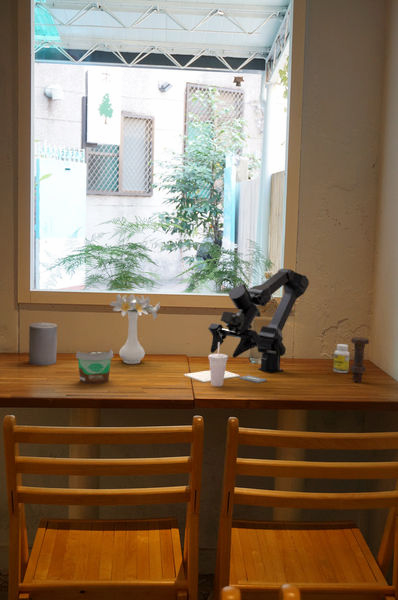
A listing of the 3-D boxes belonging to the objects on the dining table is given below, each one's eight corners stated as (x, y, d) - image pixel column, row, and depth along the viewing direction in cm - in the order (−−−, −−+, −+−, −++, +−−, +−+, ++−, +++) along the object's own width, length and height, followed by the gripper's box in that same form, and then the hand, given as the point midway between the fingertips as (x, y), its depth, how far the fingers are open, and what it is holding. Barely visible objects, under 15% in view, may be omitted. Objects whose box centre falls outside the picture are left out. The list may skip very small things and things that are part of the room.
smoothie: (227, 382, 217) (229, 341, 216) (226, 387, 211) (228, 344, 209) (208, 381, 218) (209, 340, 216) (206, 386, 212) (208, 343, 210)
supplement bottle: (330, 370, 240) (331, 344, 239) (339, 369, 244) (341, 343, 243) (342, 373, 236) (344, 347, 235) (351, 371, 240) (353, 345, 239)
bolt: (366, 380, 227) (369, 338, 225) (365, 384, 222) (368, 340, 221) (349, 378, 229) (352, 336, 227) (347, 382, 224) (350, 338, 222)
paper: (219, 369, 235) (219, 368, 235) (240, 376, 227) (240, 375, 226) (183, 375, 225) (183, 374, 225) (203, 382, 217) (203, 381, 217)
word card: (248, 376, 227) (248, 374, 227) (266, 380, 222) (267, 379, 222) (239, 378, 224) (239, 377, 224) (258, 383, 218) (258, 381, 218)
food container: (81, 386, 206) (81, 355, 205) (75, 381, 212) (75, 351, 210) (118, 382, 212) (119, 352, 211) (111, 378, 217) (112, 348, 216)
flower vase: (159, 366, 237) (161, 297, 234) (107, 365, 236) (108, 296, 232) (158, 358, 250) (160, 293, 247) (109, 357, 248) (110, 291, 245)
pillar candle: (22, 362, 235) (23, 321, 233) (43, 358, 243) (44, 318, 241) (41, 367, 230) (42, 324, 228) (62, 362, 238) (63, 321, 236)
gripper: (213, 299, 223) (190, 335, 216) (257, 306, 211) (234, 343, 204) (226, 320, 230) (204, 355, 223) (270, 327, 218) (248, 365, 211)
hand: (222, 354), depth 215 cm, fingers open, 9 cm apart
